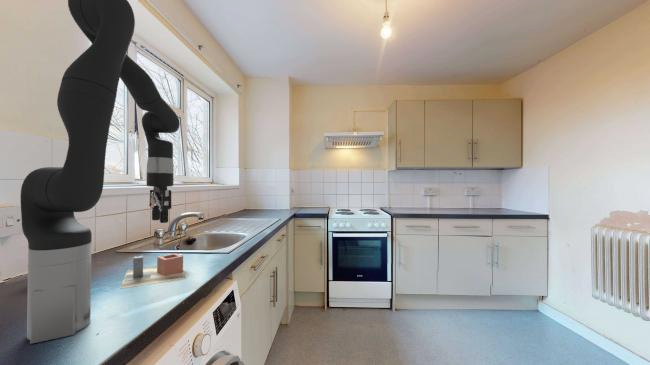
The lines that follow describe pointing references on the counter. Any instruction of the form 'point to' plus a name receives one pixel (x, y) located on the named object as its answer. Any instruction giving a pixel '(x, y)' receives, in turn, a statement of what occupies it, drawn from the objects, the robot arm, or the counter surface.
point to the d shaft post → (138, 266)
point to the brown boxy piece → (170, 264)
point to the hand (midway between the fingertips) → (159, 221)
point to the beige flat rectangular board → (149, 277)
